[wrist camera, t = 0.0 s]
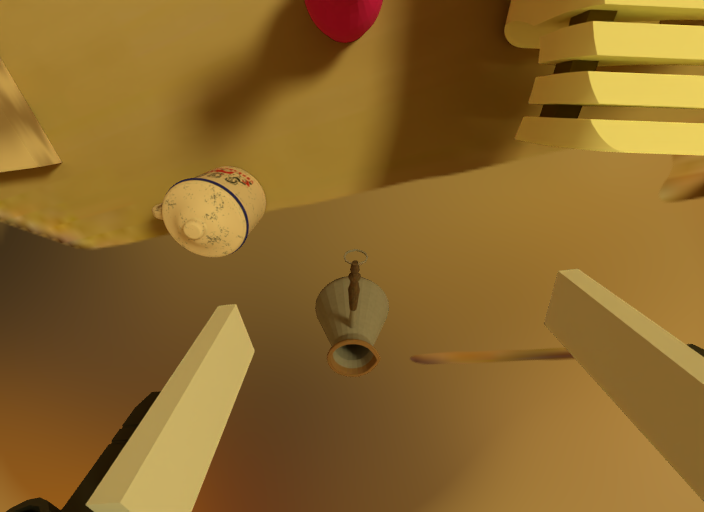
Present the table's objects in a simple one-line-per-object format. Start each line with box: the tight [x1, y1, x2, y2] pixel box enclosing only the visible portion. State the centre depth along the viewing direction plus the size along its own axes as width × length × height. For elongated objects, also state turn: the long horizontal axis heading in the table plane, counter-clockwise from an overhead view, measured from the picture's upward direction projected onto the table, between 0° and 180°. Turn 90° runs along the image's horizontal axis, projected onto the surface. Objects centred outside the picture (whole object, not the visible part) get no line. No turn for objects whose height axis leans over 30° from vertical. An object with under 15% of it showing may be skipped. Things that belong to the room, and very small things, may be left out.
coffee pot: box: [315, 249, 389, 377], centre depth 37 cm, size 21×12×15 cm, turn 179°
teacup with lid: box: [152, 166, 266, 257], centre depth 33 cm, size 12×9×12 cm
